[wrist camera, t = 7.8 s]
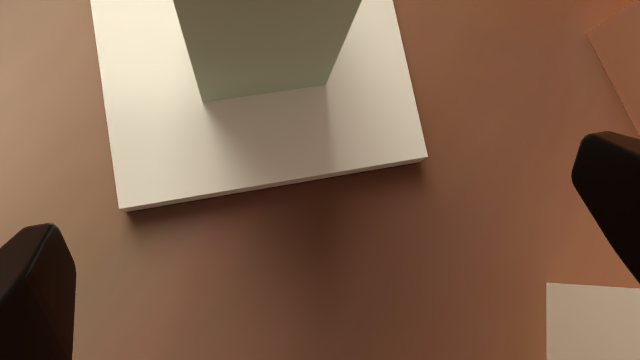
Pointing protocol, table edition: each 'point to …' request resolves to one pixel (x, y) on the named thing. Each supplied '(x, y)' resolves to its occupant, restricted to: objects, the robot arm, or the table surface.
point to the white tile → (246, 111)
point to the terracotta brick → (622, 56)
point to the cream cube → (592, 322)
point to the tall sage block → (262, 43)
